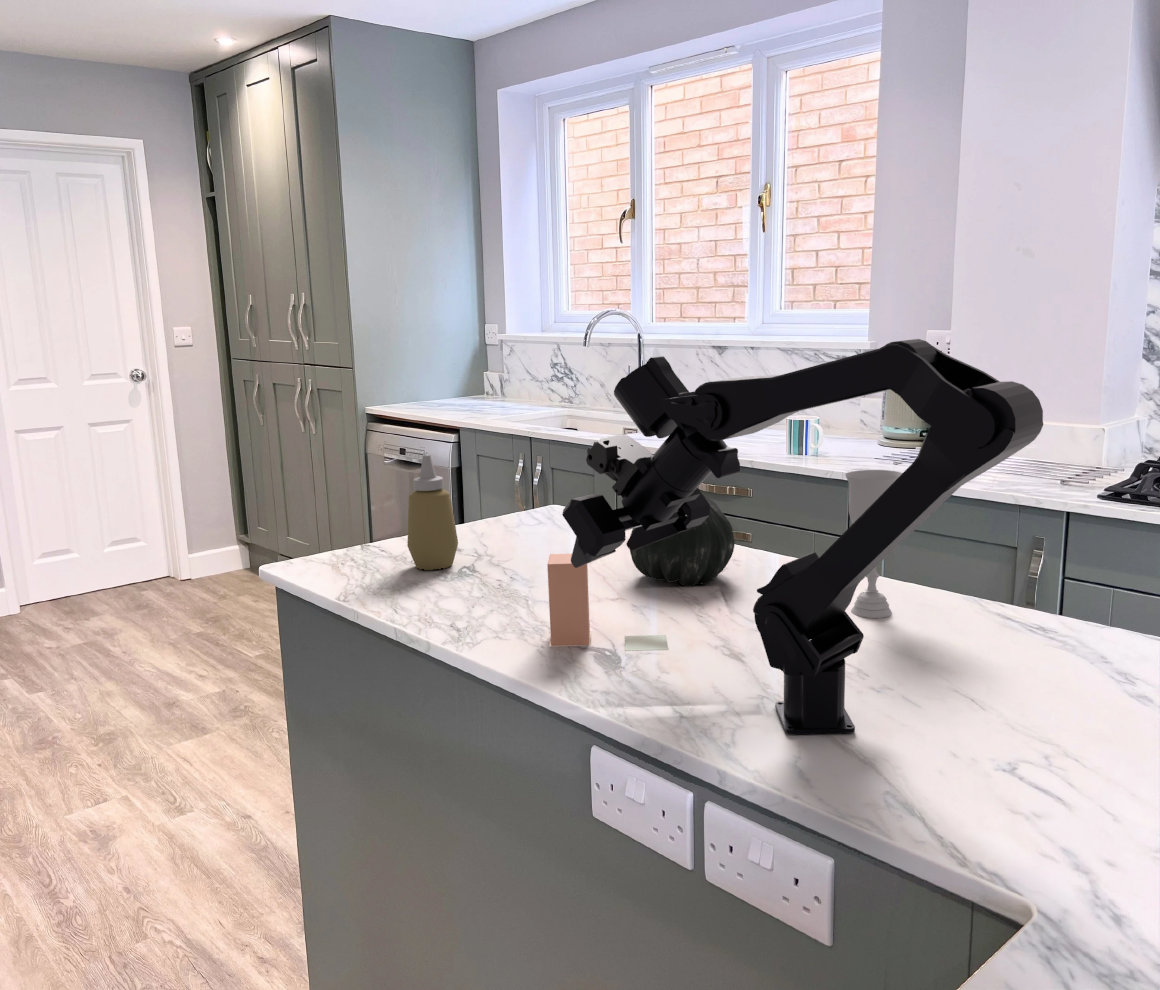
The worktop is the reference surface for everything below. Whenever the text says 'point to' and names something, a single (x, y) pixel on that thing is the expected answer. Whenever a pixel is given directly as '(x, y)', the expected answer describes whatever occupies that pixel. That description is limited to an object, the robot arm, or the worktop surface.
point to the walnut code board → (637, 642)
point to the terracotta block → (568, 601)
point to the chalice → (861, 496)
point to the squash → (689, 552)
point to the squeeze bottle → (431, 521)
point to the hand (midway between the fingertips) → (602, 555)
